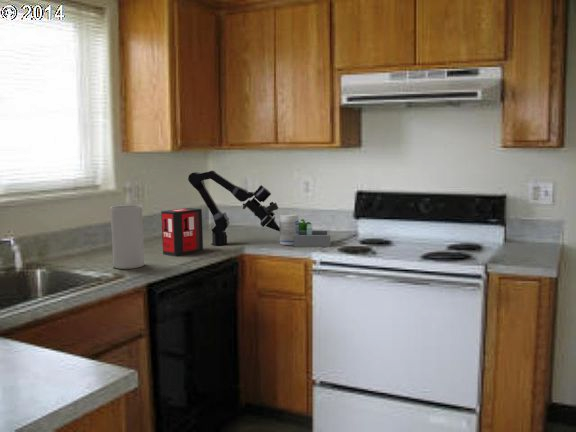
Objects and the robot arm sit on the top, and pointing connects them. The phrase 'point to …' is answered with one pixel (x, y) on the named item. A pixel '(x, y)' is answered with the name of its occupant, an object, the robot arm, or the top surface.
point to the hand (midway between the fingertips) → (280, 230)
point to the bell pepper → (303, 225)
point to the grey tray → (312, 239)
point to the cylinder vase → (127, 236)
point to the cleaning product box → (182, 231)
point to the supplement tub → (288, 228)
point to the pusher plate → (309, 229)
